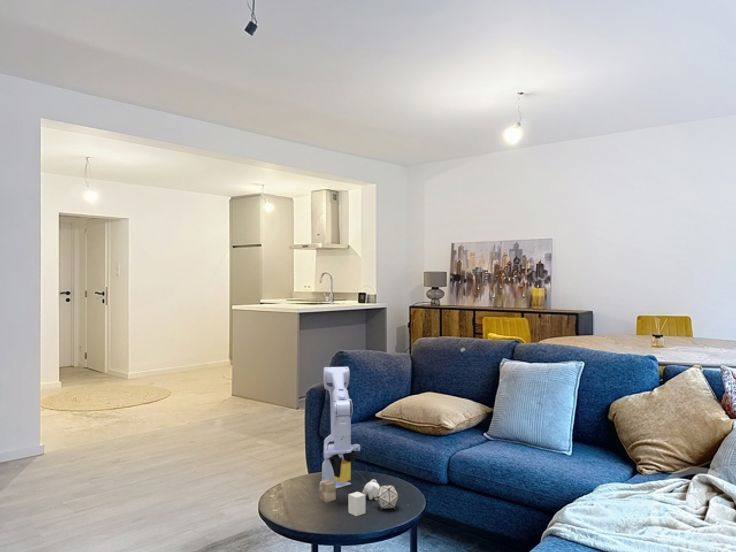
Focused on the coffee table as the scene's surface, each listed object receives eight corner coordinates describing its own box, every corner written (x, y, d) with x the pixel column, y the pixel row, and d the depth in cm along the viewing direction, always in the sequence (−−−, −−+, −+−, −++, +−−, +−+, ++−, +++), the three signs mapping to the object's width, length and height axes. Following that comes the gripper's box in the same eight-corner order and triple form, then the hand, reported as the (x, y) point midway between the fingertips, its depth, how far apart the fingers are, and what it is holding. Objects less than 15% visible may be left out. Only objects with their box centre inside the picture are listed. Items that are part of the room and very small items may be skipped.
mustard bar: (334, 479, 194) (334, 461, 194) (343, 477, 196) (343, 459, 197) (341, 482, 191) (341, 464, 191) (350, 480, 193) (350, 462, 194)
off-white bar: (348, 512, 186) (348, 494, 186) (357, 509, 189) (357, 491, 189) (356, 516, 183) (356, 497, 183) (365, 513, 186) (365, 494, 186)
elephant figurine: (364, 494, 203) (364, 477, 203) (386, 496, 201) (386, 479, 201) (359, 500, 197) (359, 483, 197) (381, 503, 194) (381, 485, 195)
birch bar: (319, 499, 198) (319, 482, 198) (328, 496, 201) (328, 479, 201) (326, 502, 195) (326, 485, 195) (335, 499, 198) (335, 482, 198)
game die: (390, 522, 188) (394, 504, 182) (368, 509, 191) (371, 491, 185) (402, 501, 195) (406, 483, 189) (380, 489, 197) (383, 472, 192)
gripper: (332, 441, 186) (332, 482, 186) (365, 434, 196) (365, 473, 195) (320, 437, 192) (319, 477, 191) (352, 430, 201) (352, 468, 201)
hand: (342, 475), depth 194 cm, fingers closed on mustard bar, 4 cm apart
